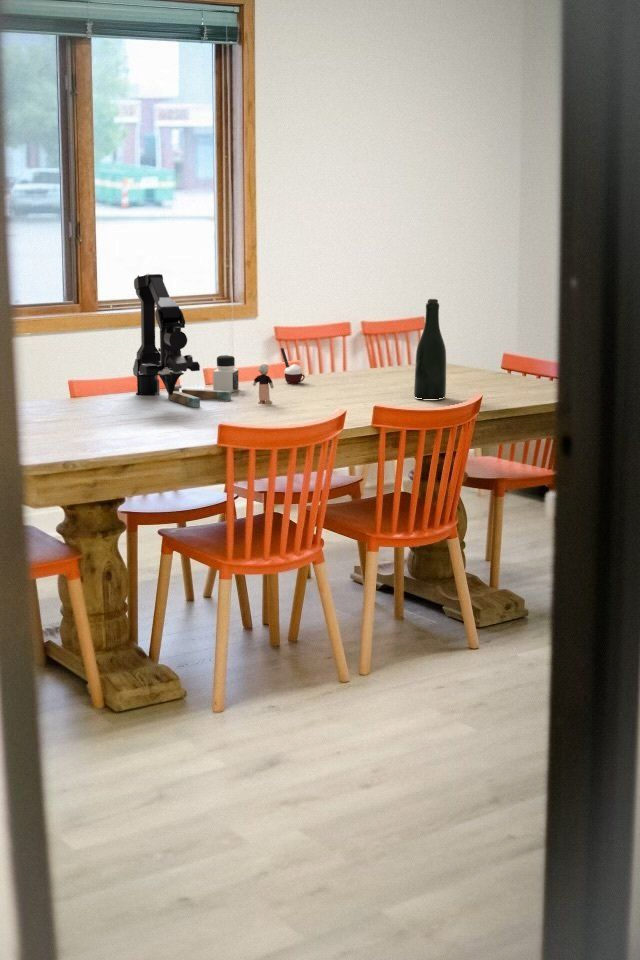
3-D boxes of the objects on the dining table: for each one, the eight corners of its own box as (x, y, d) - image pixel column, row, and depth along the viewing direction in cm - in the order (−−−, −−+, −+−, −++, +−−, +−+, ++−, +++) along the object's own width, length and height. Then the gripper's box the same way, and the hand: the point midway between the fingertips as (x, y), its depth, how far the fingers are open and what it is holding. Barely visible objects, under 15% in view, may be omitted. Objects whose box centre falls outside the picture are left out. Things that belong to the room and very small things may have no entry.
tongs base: (163, 398, 403) (163, 386, 402) (170, 395, 408) (169, 384, 407) (225, 402, 397) (225, 390, 396) (231, 399, 402) (230, 387, 401)
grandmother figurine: (276, 402, 397) (276, 363, 394) (272, 404, 394) (272, 365, 391) (254, 401, 400) (254, 362, 397) (250, 403, 396) (250, 364, 393)
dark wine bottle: (451, 398, 407) (455, 299, 399) (432, 402, 399) (435, 301, 392) (427, 394, 414) (430, 296, 406) (407, 398, 406) (410, 298, 398)
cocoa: (306, 385, 434) (309, 351, 431) (292, 386, 431) (294, 352, 427) (291, 380, 441) (293, 347, 438) (277, 381, 438) (279, 348, 435)
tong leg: (169, 399, 401) (169, 391, 400) (175, 398, 402) (175, 390, 401) (193, 407, 387) (193, 398, 387) (200, 406, 389) (199, 397, 388)
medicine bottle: (233, 392, 415) (232, 357, 412) (213, 391, 416) (212, 356, 414) (238, 389, 422) (238, 354, 419) (218, 388, 423) (218, 354, 420)
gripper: (154, 350, 371) (155, 401, 375) (208, 346, 381) (208, 395, 385) (137, 346, 380) (139, 395, 384) (190, 342, 390) (191, 390, 394)
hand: (170, 394), depth 386 cm, fingers closed
